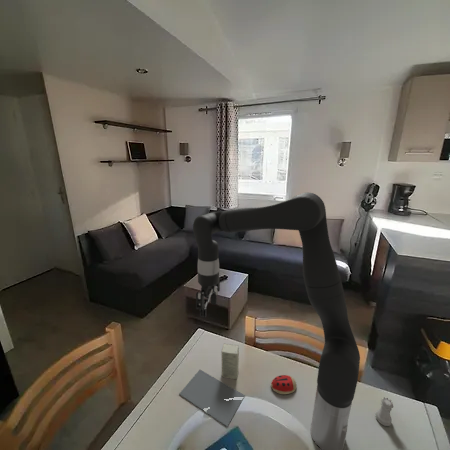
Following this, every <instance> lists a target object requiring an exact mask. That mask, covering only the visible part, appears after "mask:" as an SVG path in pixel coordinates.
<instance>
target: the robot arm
mask: <svg viewBox="0 0 450 450" xmlns="http://www.w3.org/2000/svg"><path fill="white" fill-rule="evenodd" d="M327 220H328V219H327V211H326V206H325V202H324V201H323V199H322V198H321V197H320V196H319V195H317V194H316V193H314V192H302V193H300V194H298V195H294V196H293V197H291V198H290V199H287V200H285V201H281V202H279V203H276V204H273V205H272V204H271V205H267V206H260V207H259V206H258V207H242V208H235V209H230V210H229V209H228V210H225V211H224V210H223V211H212V212H208V213H205V214H201V215H199V216H197V217H196V218H195V219H194V220H193V221H194V222H193V225H192V230H193V235H194V237H195V238H194V239H195V242H196V246H197V283H198V284H199V285H200V292H199V291H198V292H196V293H195V309H196V310H199V317H201V318H204V319H205V318H207V307H208V304H209V303H210V304H211V305H215V306H216V305H217V303H218V302H217V301H218V294H219V293H218V292H220V291H221V290H220V289H221V287H220V286H221V283H220V281H221V280H220V279H221V278H220V260H219V258H220V257H219V249H220V247H219V242H217V241H216V240H214V239H213V238H212V236H213V234H216V233H219V232H224V233H229V234H230V233H232V234H233V233H239V232H240V233H241V232H249V231H258V230H289V231H298V233H299V236H300V240H301V241H300V242H301V245H302V276H303V281H304V286H305V291H306V293H307V294H306V295H307V297H308V300H309V303H310V305H311V307H312V308H313V310H314V311H315V312H316V314H317V315H318V316H319V319H320V322H321V326H322V330H323V334H324V344H323V349H322V351H321V355H320V358H319V363H318V364H319V365H318V371H317V372H318V373H317V380H316V389H315V390H316V391H315V396H314V397H315V399H314V404H313V410H312V417H311V423H310V434H311V438H312V440H313V441H315V442H316V443H315V442H314V443H315V445H316V446H317V445H318V446H319V447H320V450H344V448H345V442H346V437H347V434H348V427H349V426H348V424H349V418H350V413H351V410H352V405H353V404H352V402H353V400H354V399H355V394H356V389H357V384H358V379H359V372H360V365H361V362H360V361H361V357H360V356H361V355H360V351H359V347H358V344H357V342H356V339H355V337H354V333H353V330H352V327H351V324H350V321H349V315H348V308H347V307H348V306H347V304H346V302H347V301H346V298H345V297H346V296H345V292H344V287H343V283H342V278H341V274H340V271H339V268H338V263H337V260H336V257H335V254H334V251H333V247H332V245H331V241H330V236H329V235H330V234H329V230H328V221H327ZM205 298H206V299H205ZM318 446H317V447H318ZM319 447H318V448H319Z"/></svg>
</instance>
